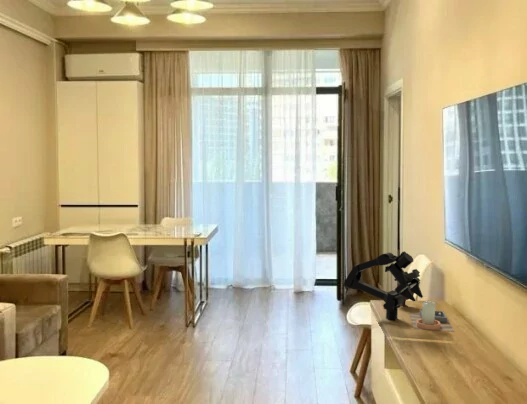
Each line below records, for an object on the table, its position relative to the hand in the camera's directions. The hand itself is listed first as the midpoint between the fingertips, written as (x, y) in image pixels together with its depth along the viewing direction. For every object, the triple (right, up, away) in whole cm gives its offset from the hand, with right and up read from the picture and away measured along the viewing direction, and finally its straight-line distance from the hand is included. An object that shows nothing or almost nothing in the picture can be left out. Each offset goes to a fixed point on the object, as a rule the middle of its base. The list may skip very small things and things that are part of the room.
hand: (418, 299), depth 294 cm
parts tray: (+10, -12, +10) cm, 19 cm away
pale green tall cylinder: (+4, -12, -2) cm, 13 cm away
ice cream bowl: (+1, -10, +35) cm, 36 cm away
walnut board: (+7, -13, +5) cm, 16 cm away
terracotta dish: (+4, -13, -2) cm, 14 cm away
